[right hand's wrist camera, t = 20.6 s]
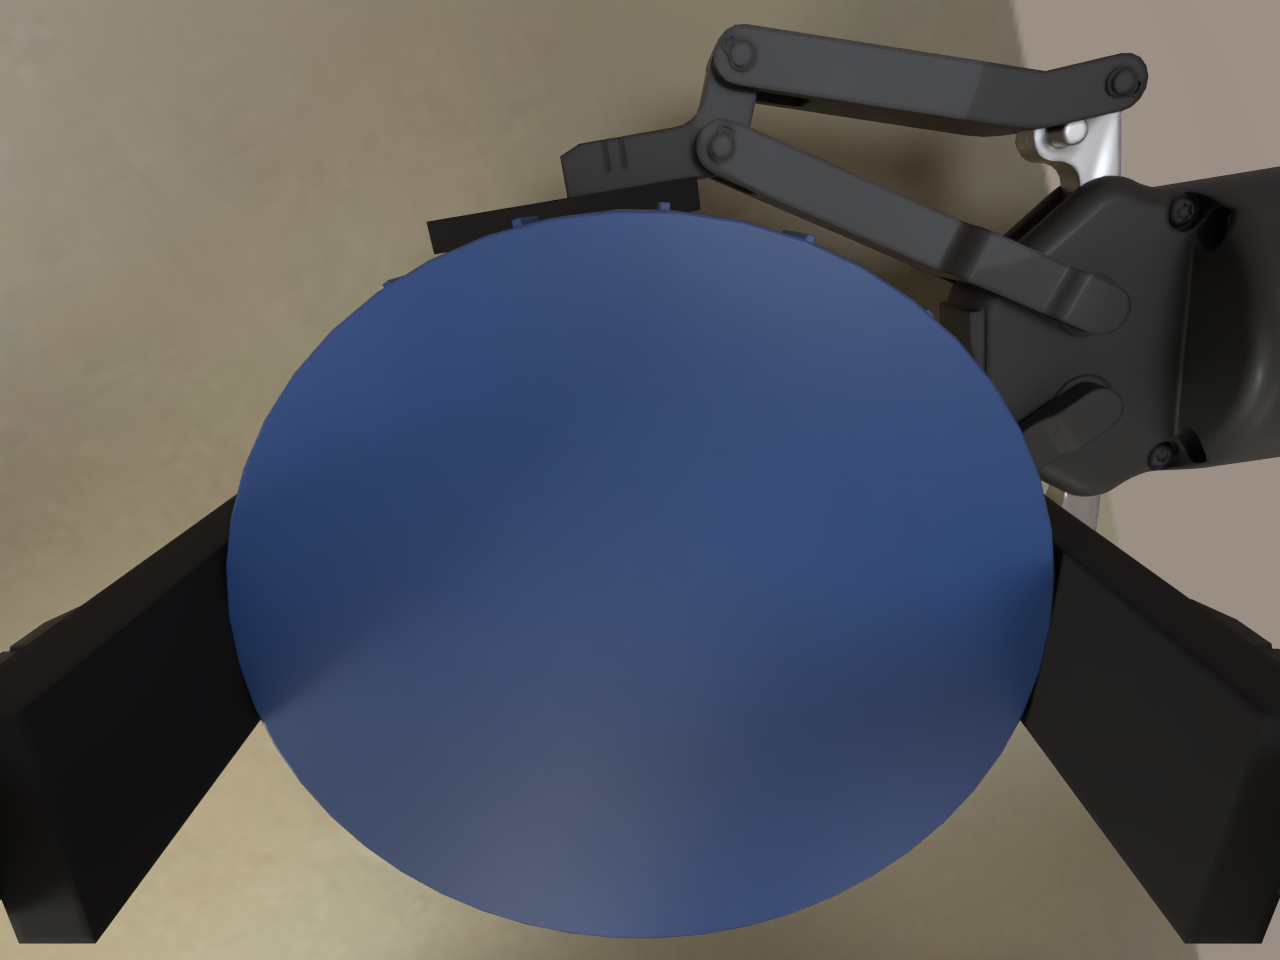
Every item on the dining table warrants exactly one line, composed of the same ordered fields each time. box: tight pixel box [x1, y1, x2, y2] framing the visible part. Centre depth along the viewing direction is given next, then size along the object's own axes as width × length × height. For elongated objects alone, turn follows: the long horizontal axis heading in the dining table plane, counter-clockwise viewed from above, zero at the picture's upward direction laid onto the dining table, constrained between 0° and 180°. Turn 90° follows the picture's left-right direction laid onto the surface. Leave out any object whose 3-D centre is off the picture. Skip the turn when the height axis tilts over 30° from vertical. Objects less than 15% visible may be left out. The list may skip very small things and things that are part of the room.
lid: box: [226, 202, 1055, 938], centre depth 11 cm, size 11×11×2 cm
